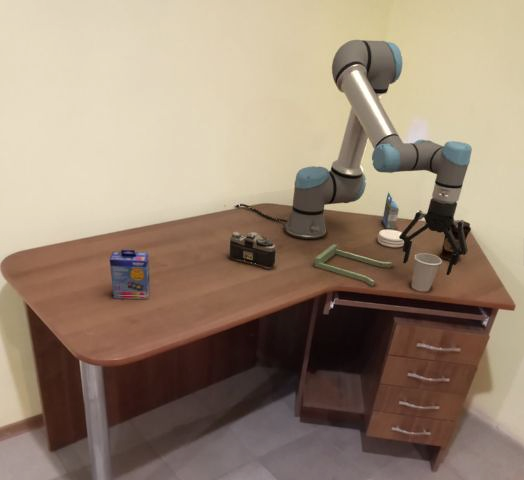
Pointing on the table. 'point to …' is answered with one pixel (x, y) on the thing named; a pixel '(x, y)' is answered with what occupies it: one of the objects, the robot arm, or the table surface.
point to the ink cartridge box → (130, 274)
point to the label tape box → (390, 213)
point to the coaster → (390, 238)
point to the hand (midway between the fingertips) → (426, 267)
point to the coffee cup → (446, 247)
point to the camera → (252, 249)
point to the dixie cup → (424, 271)
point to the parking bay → (333, 250)
